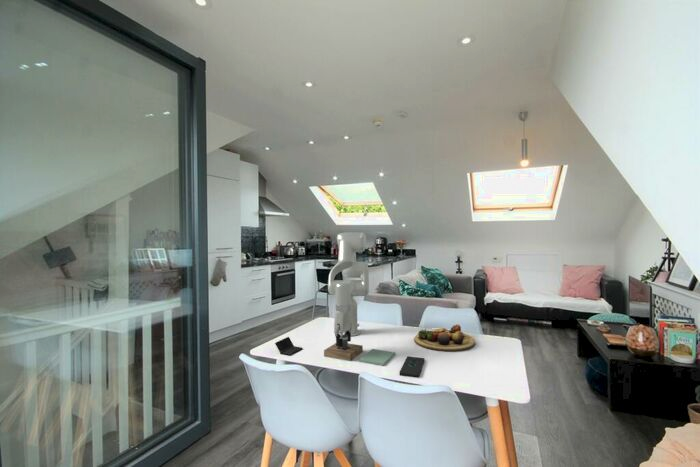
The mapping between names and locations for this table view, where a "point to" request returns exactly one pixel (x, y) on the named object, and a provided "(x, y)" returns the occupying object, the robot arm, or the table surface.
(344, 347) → the plug
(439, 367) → the table surface
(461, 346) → the wooden plate with food
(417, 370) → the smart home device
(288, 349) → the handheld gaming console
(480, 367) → the table surface
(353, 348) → the wooden block with hole
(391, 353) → the mat
